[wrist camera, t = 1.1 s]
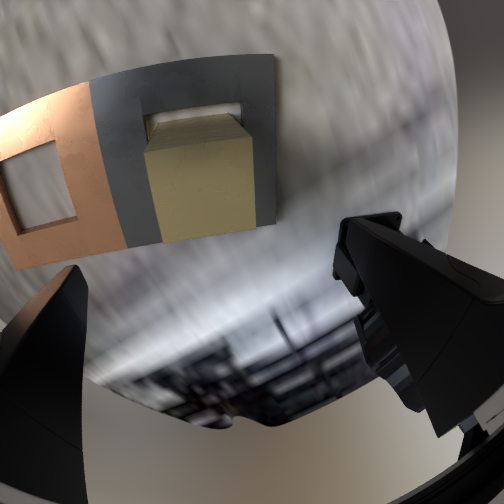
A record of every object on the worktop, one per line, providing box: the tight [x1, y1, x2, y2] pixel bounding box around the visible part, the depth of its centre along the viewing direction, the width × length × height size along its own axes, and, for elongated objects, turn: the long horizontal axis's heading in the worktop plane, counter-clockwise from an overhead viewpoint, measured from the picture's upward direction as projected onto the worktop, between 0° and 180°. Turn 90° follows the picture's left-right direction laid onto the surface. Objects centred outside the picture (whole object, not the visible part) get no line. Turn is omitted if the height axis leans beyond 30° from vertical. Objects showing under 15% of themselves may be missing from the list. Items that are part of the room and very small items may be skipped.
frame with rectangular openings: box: [0, 54, 276, 270], centre depth 16 cm, size 22×12×1 cm, turn 92°
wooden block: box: [144, 113, 256, 244], centre depth 15 cm, size 4×4×7 cm
